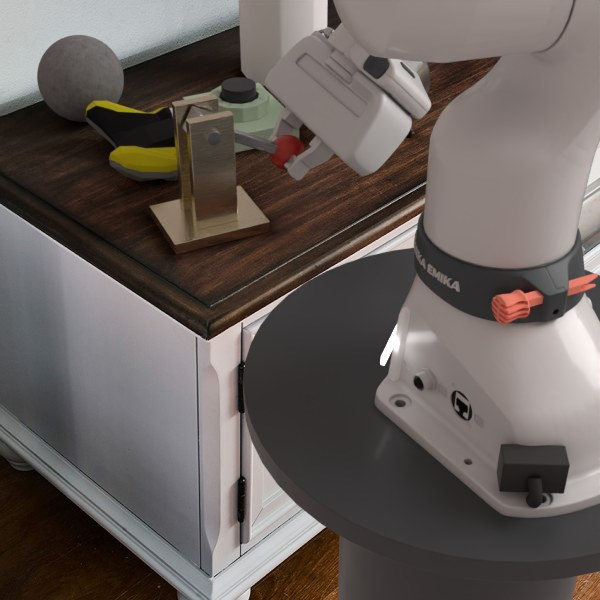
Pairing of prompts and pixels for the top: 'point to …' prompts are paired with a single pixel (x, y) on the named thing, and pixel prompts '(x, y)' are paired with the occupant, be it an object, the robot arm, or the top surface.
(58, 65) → the decorative ball
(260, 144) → the switch lever
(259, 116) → the button box
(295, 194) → the top surface
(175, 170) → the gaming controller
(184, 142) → the switch bracket
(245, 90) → the button
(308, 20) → the cup
